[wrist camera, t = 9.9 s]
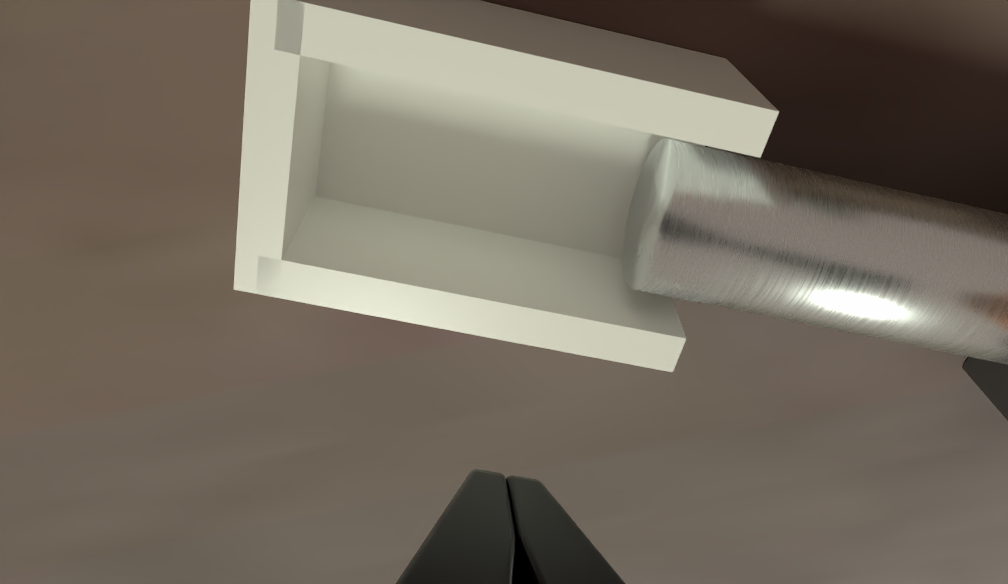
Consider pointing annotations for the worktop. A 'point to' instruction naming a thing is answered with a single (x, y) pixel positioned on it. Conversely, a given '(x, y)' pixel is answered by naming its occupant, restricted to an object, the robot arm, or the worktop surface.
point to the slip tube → (818, 250)
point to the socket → (990, 380)
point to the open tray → (469, 166)
